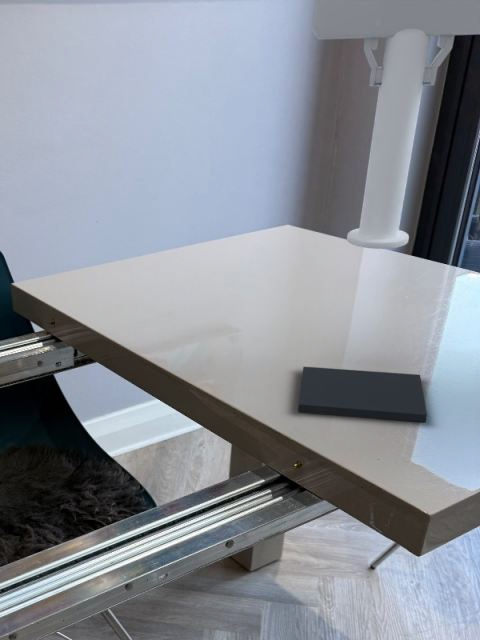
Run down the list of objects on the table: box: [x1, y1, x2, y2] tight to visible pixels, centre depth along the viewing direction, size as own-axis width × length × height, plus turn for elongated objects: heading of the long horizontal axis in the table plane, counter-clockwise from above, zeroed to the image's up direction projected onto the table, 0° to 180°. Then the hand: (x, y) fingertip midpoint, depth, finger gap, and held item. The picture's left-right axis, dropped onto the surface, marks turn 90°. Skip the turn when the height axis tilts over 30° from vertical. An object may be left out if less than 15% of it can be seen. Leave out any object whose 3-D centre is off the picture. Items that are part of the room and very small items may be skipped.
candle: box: [346, 29, 432, 250], centre depth 88 cm, size 7×7×25 cm
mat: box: [297, 366, 428, 423], centre depth 94 cm, size 14×11×1 cm
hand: (401, 85), depth 85 cm, fingers closed on candle, 4 cm apart
